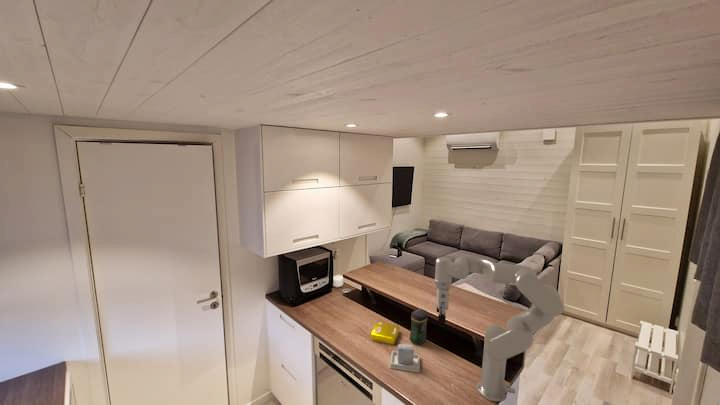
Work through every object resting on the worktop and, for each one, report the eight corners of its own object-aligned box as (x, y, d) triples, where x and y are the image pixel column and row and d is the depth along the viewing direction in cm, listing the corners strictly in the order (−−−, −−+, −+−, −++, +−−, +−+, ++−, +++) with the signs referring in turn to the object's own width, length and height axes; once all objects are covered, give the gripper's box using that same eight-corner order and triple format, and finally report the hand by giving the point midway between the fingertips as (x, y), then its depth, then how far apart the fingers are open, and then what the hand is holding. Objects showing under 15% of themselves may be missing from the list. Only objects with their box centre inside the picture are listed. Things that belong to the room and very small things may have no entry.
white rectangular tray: (419, 357, 157) (419, 354, 156) (419, 372, 146) (419, 368, 146) (391, 354, 159) (391, 350, 159) (389, 367, 149) (389, 363, 148)
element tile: (394, 346, 167) (395, 338, 167) (369, 340, 172) (370, 333, 171) (399, 331, 181) (400, 324, 181) (376, 327, 186) (376, 320, 185)
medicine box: (411, 359, 155) (412, 344, 153) (413, 365, 150) (414, 349, 149) (396, 358, 155) (397, 343, 153) (397, 364, 150) (398, 349, 149)
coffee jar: (418, 347, 166) (419, 316, 163) (407, 340, 172) (408, 311, 169) (428, 340, 172) (430, 311, 169) (417, 334, 178) (419, 306, 175)
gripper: (453, 292, 129) (450, 328, 132) (448, 277, 146) (446, 309, 148) (435, 290, 131) (433, 326, 133) (433, 276, 147) (431, 307, 150)
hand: (440, 317), depth 141 cm, fingers open, 9 cm apart
